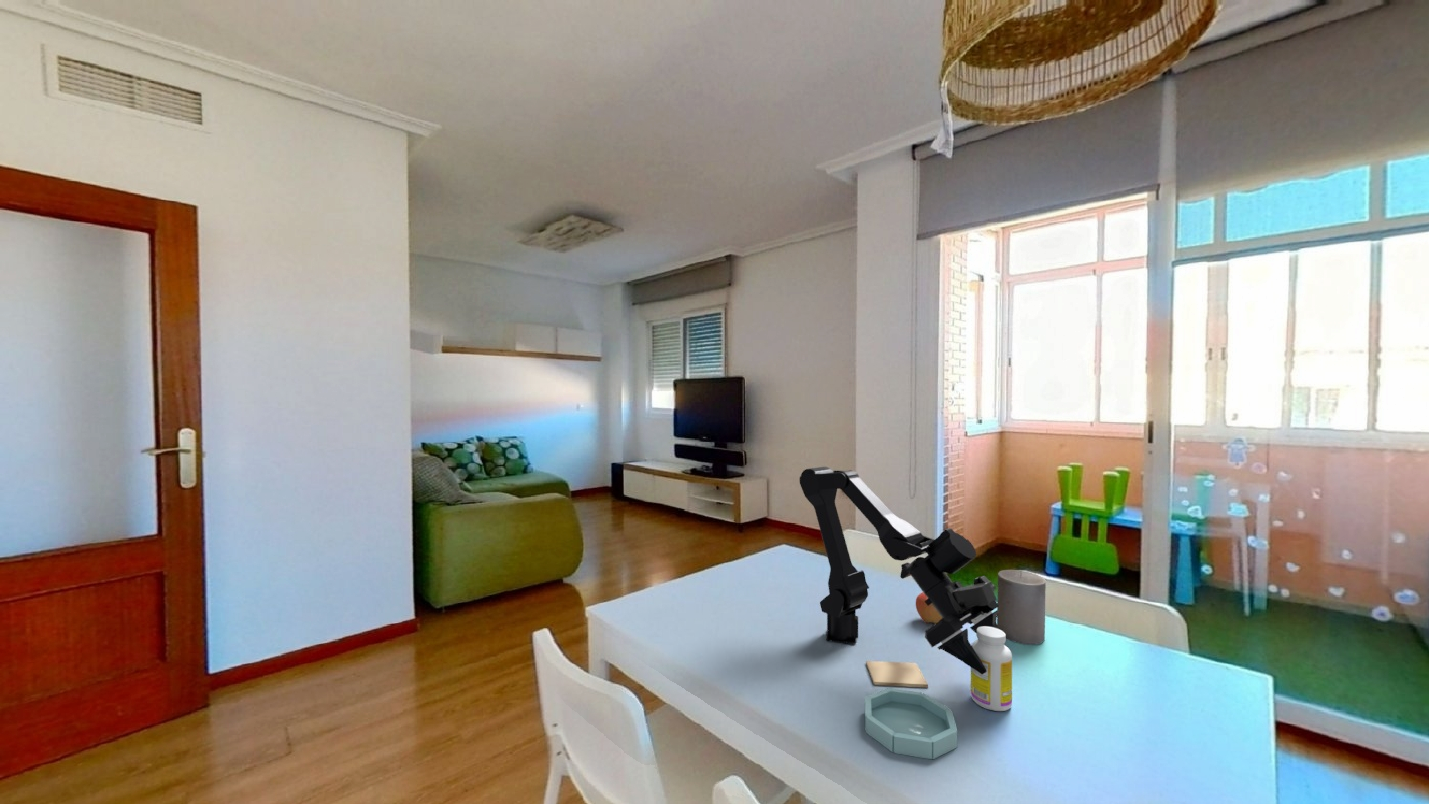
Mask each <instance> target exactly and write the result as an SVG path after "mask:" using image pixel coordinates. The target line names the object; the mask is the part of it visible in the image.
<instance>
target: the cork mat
mask: <svg viewBox="0 0 1429 804" xmlns="http://www.w3.org/2000/svg"><path fill="white" fill-rule="evenodd" d="M865 662H866V663H865V664H866V667H867V669H868V672H869V675H870V677H871V681H872V683H873V685H874V686H887V687H889V686H890V687H905V688H906V687H910V688H927V689H928V688H929V683H928V682H927V680H926V679H925V677H924V675H923V673H922V671H921V670H920V667H919V665H918V663H916V662H902V661H901V662H898V661H882V660H881V661H879V660H878V661H877V660H866V661H865Z"/></svg>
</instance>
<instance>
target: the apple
mask: <svg viewBox="0 0 1429 804" xmlns="http://www.w3.org/2000/svg"><path fill="white" fill-rule="evenodd" d="M927 599H928V598H927V597H926V595H925V594H924V593H923V591H922V592H920V593H919V594H918V595H917V597H916V599H915V609H916V611H917V613H918V616H920V618H921V620H922V621H923V622H925V623H926V624H928V623H932V624H934V625H935V624H936V623H938V622H939V620H941V619H942V617H941V616H940V614H939V613H938V612H937V610H936V609H935V607H934V606H933V605H932V604H931V605H929V606H928V605H927V604H926V603H925V600H927Z"/></svg>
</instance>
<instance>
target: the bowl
mask: <svg viewBox="0 0 1429 804" xmlns="http://www.w3.org/2000/svg"><path fill="white" fill-rule="evenodd" d="M864 725H865V726H864V732H865V733H866V734H868V735H869V736H870V737H871V738H873V740H875V741H877V742H878V743H879V744H881V745H882V746H883V747H885V748H886V749H887V750H889V751H890V752H892V753H894V754H897V755H904V756H912V757H914V758H915V757H916V758H922V759H928V760H932V759H933V760H935V759H937V758H939V757H941V756H942V755H945V754H946V753H948V752H951V751H952V750H955V749H956V748H958V729H957V728H958V727H957V725H956V720H955V717H954V714H953V711H952V710H951V708H949V707H948V706H947V705H944V703H943V704H942V703H941V702H940V701H938V700H936V699H934V698H933V697H931V696H929V695H927V694H926V693H924V692H923V693H922V692H921V691H913V690H909V689H908V690H907V689H899V688H892V687H889V688H888V687H886V688H884V689H882V690H879V691H876V692H874V693H872V694H869V695H866V696H865V697H864Z"/></svg>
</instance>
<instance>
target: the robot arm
mask: <svg viewBox="0 0 1429 804" xmlns="http://www.w3.org/2000/svg"><path fill="white" fill-rule="evenodd" d="M798 481H799V485H800V489H801V491H802V492H803V493H802V494H803V496H804V498H806V500H807V501H808V502H809V503H810V504H811V506H813V508H814V511H815V515H816V519H817V522H818V527H819V530H820V534H821V538H822V541H823V545H824V548H825V552H826V556H827V560H828V565H829V568H830V571H829V577H828V581H827V586H828V593H829V594H828V595H826V596H825V597H824V598H823V599H822V600H820V602H819V604H820V605H819V606H820V609H821V612H822V613H824V614H826V623H827V624H826V637H825V640H826V641H828V642H834V643H841V644H850V645H856V643H857V639H859V616H858V615H857V614H856V610H860V609H861V608H862V605H863V604H864V602H865V601H867V599H868V597H869V591H868V589H870V586H869V585H868V582H867V580H866V574H865V572H864V570H859V571H858V569H857V568H856V567H855V566H854V565H853V563H852V560H851V556H850V552H849V548H848V545H847V542H846V538H845V534H844V531H843V528H842V524H841V521H840V517H839V513H838V510H837V509H838V508H837V506H836V497H837V492H838V490H841V492H842V493H844V494H845V496H846V497H847V498H848V499H849V500H850V502H852V504H853V505H854V506H855V507H856V508H857V509H858V510H859V511H860V513H861V514H862V515H863V516H864V517H865V518H866V519H867V520H868V522H869V523H870V524H871V525H872V526H873V528H875V530H876V532H877V535H878V539H879V542H880V543H881V545H882V546H883V548H884V549H885V552H886V553H887V554H888V555H889V557H890V558H892V559H893V560H895V561H906V560H909V559H911V558H912V559H913V558H915V559H914V560H912V562H910V563H909V562H904V563H902V564H900V565H901V571H900V575H899V577H900V579H903V580H904V579H906V578H908V577H910V576H911V577H912V579H913V580H914V582H915V583H916V585H917V586H918V587H919V589H920V590H921V591H922V592H923V593H924V594H925V595H926V597H927V598H928V599H927V600H925V603H926V604H927V605H928V606H929V605H931V604H932V605H933V606H934V607H935V609H936V610H937V612H938V613H939V614H940V616H941V617H942V619H941V620H939V622H938V623H936V624H935V623H934V624H933V625H932V626H931V627H929V628H927V629H926V630H925V634H924V635H925V637H924V638H925V640H926V641H927V642H928V644H929V645H930V647H931V648H934V647H935V646H937V645H939V644H940V645H939V646H937V648H936V649H938V650H942V651H944V652H946V653H947V654H949V655H950V656H952V657H954V658H956V659H957V660H960V662H962V663H964V664H965V665H967V666H968V667H970V669H971V668H973V669H975V670H976V671H978V672H979V673H981V674H984V673H986V672H987V670H986V668H985V667H984V665H983V663H982V661H981V660H980V658H979V657H978V655H977V654H976V652H975V650H974V649H973V647H972V646H971V645H972V643H970V641H969V632H968V631H969V630H968V628H965V629H964V630H962V629H963V628H964V625H967V623H968V624H970V625H972V624H973V625H972V626H971V627H969V628H970V629H971V631H973V632H974V633H975V634H977V628H978V627H982V626H988V627H994V628H997V629H998V627H997V614H998V610H997V607H999V605H998V604H997V603H998V601H996V600H997V597H996V595H995V594H996V593H995V592H994V591H995V590H997V588H996V585H995V584H993V583H992V581H991V580H990V579H988V577H987V576H985V575H982V576H978V577H976V578H974V579H973V583H971V584H970V585H966V586H963V584H961V582H960V581H958V580H955V581H953V580H951V578H950V577H949V575H954V574H956V573H957V572H958V571H959V570H961V568H963V567H965V566H966V565H968V564H969V563H971V562H972V561H973V560H974V559H975V558H976V557H977V552H976V549H975V546H974V545H973V544H972V542H971V541H970V540H969V539H966V537H964V536H963V535H961V534H959V533H957V532H955V530H953V528H950V527H949V528H947V529H944V530H943V531H942V532H941V533H940V535H938V537H936V538H934V539H933V538H932V537H929V536H925V535H924V534H923V533H922V532H921V531H919V530H918V529H917V528H916V527H914V526H913V525H912V524H911V523H909V522H908V521H907V520H904V519H902V518H901V517H898V516H897V515H895V514H894V513H893V512H892V511H891V510H890V509H889V508H888V507H887V506H886V504H884V502H883V501H882V500H881V499H880V498H879V497H878V496H877V495H876V494H875V493H874V492H873V491H872V490H871V488H869V486H867V484H866V483H865V482H864V481H863V479H861V477H860V475H859V473H858V472H856V471H854V470H851V469H850V470H833V469H831V468H829V467H828V466H819V467H812V468H806V469H804V470H803V471H802V472H801V474H800V476H799V480H798ZM924 554H926V556H925V557H923V556H922V555H924ZM947 574H949V575H947ZM994 610H995V611H994ZM992 611H993V612H992ZM1005 644H1006V643H1004V645H1005ZM1005 646H1006V645H1005Z"/></svg>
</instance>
